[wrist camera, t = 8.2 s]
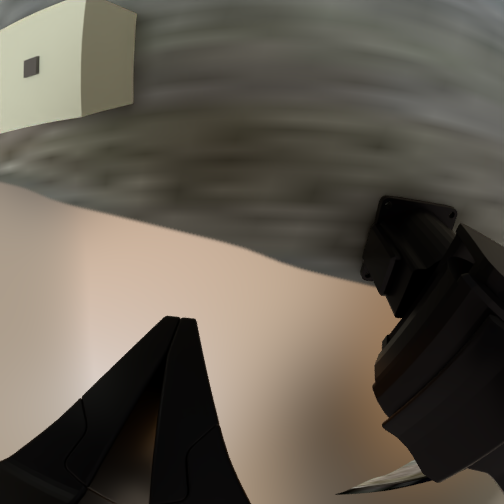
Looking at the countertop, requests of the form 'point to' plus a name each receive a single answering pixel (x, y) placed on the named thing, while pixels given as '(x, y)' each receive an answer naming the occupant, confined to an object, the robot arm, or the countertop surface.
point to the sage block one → (66, 63)
